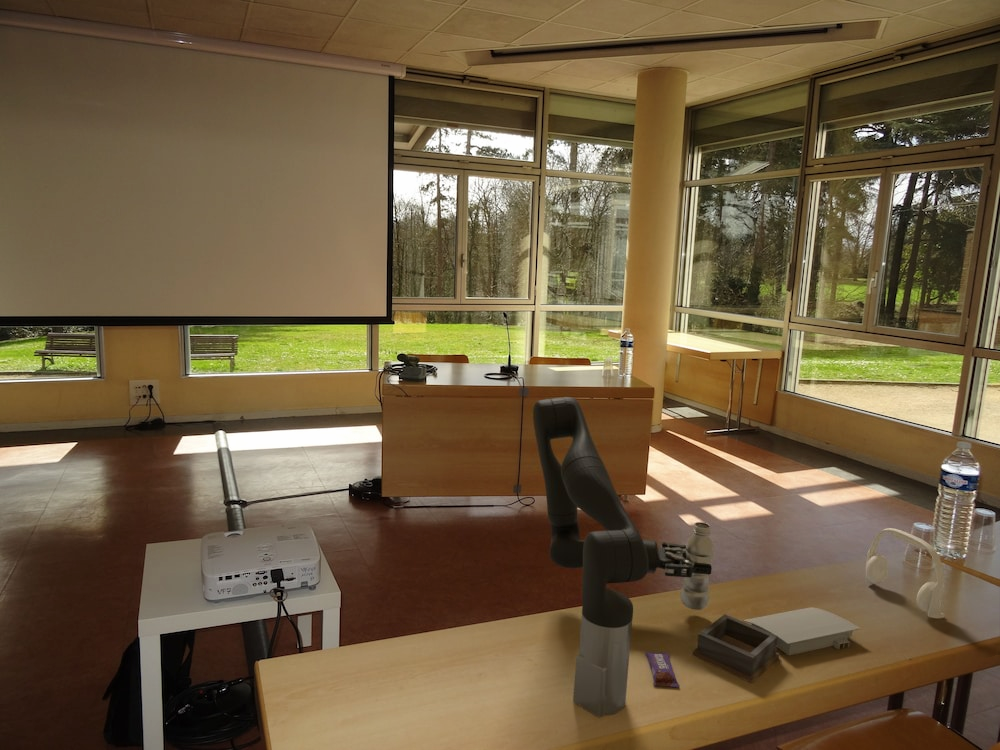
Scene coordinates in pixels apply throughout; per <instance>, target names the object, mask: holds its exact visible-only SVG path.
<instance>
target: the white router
mask: <svg viewBox="0 0 1000 750" xmlns="http://www.w3.org/2000/svg"><path fill="white" fill-rule="evenodd" d="M742 621H743V622H745V623H747V624H750V625H752V626H755V627H757V628H760V629H762V630H764V631H767V632H769V633H772V634H774V635H776V636H778V639H777V647H776V648H778V649H779V650H780V651H782V652H784V654H786V655H788V656H791V655H792V656H793V655H797V654H801V653H806V652H811V651H815V650H820V649H824V648H829V647H834V648H836V649H837V650H840V648H841V645H842V649H845V644H848V645H847V648H849V647H850V642H851V641H849V640H848V639H849V638H852V636H853V631H857V630H861V627H859V626H857V625H856V624H854V623H852V622H851V621H848V620H847V619H845V618H843V617H841V616H839V615H836V614H834V613H832V612H830V611H827V610H825V609H822V608H817V607H812V606H810V607H806V608H800V609H794V610H790V611H784V612H779V613H774V614H769V615H764V616H757V617H752V618H747V619H742Z"/></svg>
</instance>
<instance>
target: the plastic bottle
mask: <svg viewBox="0 0 1000 750" xmlns="http://www.w3.org/2000/svg"><path fill="white" fill-rule="evenodd" d="M692 532H693V534H692V535H691V536H690V537H689V538H688V540H687V541H686V544H685V545H686V560H687V561H690V562H693V563H704V564H710V565H711V566H712V560H713V557H714V553H715V545H714V543H713V541H712V539H711V537H710V536H711V525H710V524H709V523H706V522H701V521H698V522H695V523H694V524H693V530H692ZM709 577H710V574H709V575H708V574H699V573H694V574H692V577H684V580H683V584H682V587H681V590H680V600H681V603H682V604H683V606H685V607H686V608H688V609H690V610H695V611H696V610H697V611H702V610H704V609H706V608H707V606H708V604H709V601H710V590H709V585H710V584H709V581H710V580H709Z"/></svg>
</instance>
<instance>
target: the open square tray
mask: <svg viewBox="0 0 1000 750" xmlns="http://www.w3.org/2000/svg"><path fill="white" fill-rule="evenodd" d="M777 639H778V636H776V635H774V634H772V633H769V632H767V631H764V630H762V629H760V628H757V627H755V626H752V624H751V623H748V622H744V621H743V620H740V619H738V618H735V617H733V616H731V615H728V614H726V613H725V614H723V615H721V616H720V617H719V618H718V619H716V620H714V621H713V622H712V623H711V624H709V625H708V626H707V627H705V628H704V629H703V630H701V631H699V633H698V634H697V644H696V648H694V649H693V650H692V656H694V657H695V658H698V659H699V660H702V661H704V662H706V663H708V664H710V665H713V666H715V667H716V668H717V669H718V668H719V669H720V670H723V671H724V672H727V673H729V674H731V675H732V676H733V675H734V676H735V677H738V678H740V679H742V680H744V681H746V682H748V683H750V684H753V683H754V682H755V681H756V680H757V679H758V678H759V677H760V676H761V675H762V674H764V673H765V671H767V670H768V668H770V667H771V666H772V665H773V664H774V663H775V662H776V661H777V660H778V659H779V657H780V653H779V652H777V648H778V647H777Z"/></svg>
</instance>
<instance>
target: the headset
mask: <svg viewBox="0 0 1000 750" xmlns="http://www.w3.org/2000/svg"><path fill="white" fill-rule="evenodd" d="M887 533H889V534H890V536H891V537H893V538H895V539H898V540H901V541H903V542H905V543H907V544H909V545H911V546H914V547H916V548H917V549H920V550H926V551H928V553H929V554H930V556H931V557H932V561H933V564H934V568H935V576H936V582H935V581H927V582H926V583H924V584H923V585H922V586H921V587H920V588H919V590H918V592H917V595H916V605H917V606H918V608H919V609H921V611H924V612H927V616H928V617H929V618H932V619H944V618H945V613H942V612H941V604H942V601H943V596H944V594H945V588H946V583H945V579H944V578H945V577H944V570H943V565H942V561H941V558H940V555H939V554H938V552H937V551H936V549H935V548H934V547H933V546H932V545H931V544H930V543H928V542H927V541H926V540H924V539H922V538H920V537H918V536H916V535H913V534H910V532H909V533H908V532H906V531H904V530H900V529H898V528H894V527H891V528H889V527H887V528H884V529H882V530H881V531H879V532H878V533H877V534H876V536H875V537H874V539H873V540H872V543H871V545H870V548H869V550H868V551H867V554H866V562H865V563H866V564H865V579H864V580H865V583H867V584H869V585H875V584H881V583H882V582H884V581H885V580H886V578H887V577H888V575H889V572H890V571H889V570H890V565H889V562H888V560H887V558H886V557H885V556H883V555H881V554H878V553H879V552H878V550H877V548H878V545H879V543H880V541H881V540H882V538H883V537H884V536H885V535H886V534H887Z"/></svg>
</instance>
